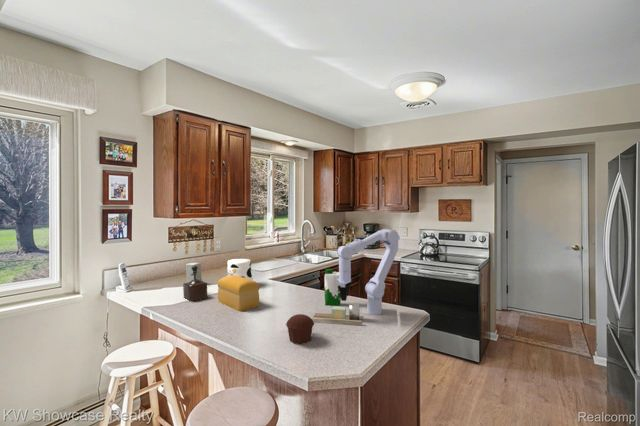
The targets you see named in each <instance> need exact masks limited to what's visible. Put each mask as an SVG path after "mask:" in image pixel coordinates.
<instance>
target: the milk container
mask: <svg viewBox="0 0 640 426" xmlns="http://www.w3.org/2000/svg"><path fill="white" fill-rule="evenodd" d="M251 261H252V260H251V259H249V258H234V259H229V260H227V264H226V265H227V270H226V271H227V275H226V276H229V275H236V276H240V277H243V278H247V279H250V280H253V275H252V262H251ZM253 281H254V280H253Z"/></svg>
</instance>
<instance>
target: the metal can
mask: <svg viewBox="0 0 640 426" xmlns="http://www.w3.org/2000/svg"><path fill="white" fill-rule="evenodd" d="M360 308H361V307H360V304H359V303H356V302H352V303H349V304H348V315H349V320H360V316H361V315H360V314H361V312H360V310H361V309H360Z"/></svg>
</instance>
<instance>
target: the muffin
mask: <svg viewBox="0 0 640 426" xmlns="http://www.w3.org/2000/svg"><path fill="white" fill-rule="evenodd" d="M310 317H311V316H309V315H306V314H302V313H301V314H294V315H292V316H290V317H289V318H288V320H287V321H286V323H285V326H286V327H287V331H288V336H289V337H288V338H289V342H291V343H293V344H296V345H302V344H303V345H304V344H307V343H309V342H311V340H312V334H313V333H312V332H313V327H314V325H315V322H313V320H312V319H311V318H310Z"/></svg>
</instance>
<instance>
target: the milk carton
mask: <svg viewBox="0 0 640 426" xmlns="http://www.w3.org/2000/svg"><path fill="white" fill-rule="evenodd" d="M324 272H325V273H324V304H325V306H331V307H333V306H340V305H341V301H342V300H341V295H340V292H339V289H338V285H339V286H341V283H340V282H339V281H337V279H339V271H334V270H333V268H325V271H324Z"/></svg>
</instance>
